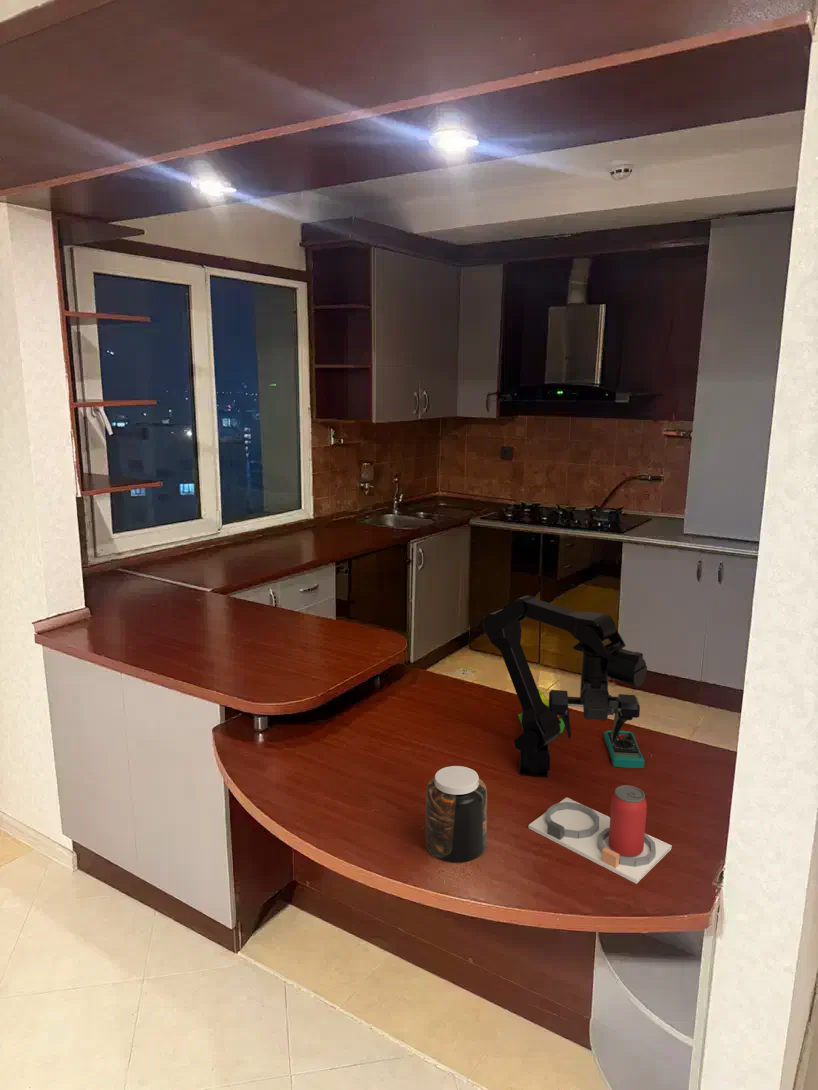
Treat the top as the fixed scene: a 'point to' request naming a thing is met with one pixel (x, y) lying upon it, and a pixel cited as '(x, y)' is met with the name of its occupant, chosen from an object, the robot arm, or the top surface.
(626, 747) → the digital multimeter
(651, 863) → the board
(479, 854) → the jar
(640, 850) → the beer can
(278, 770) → the top surface
